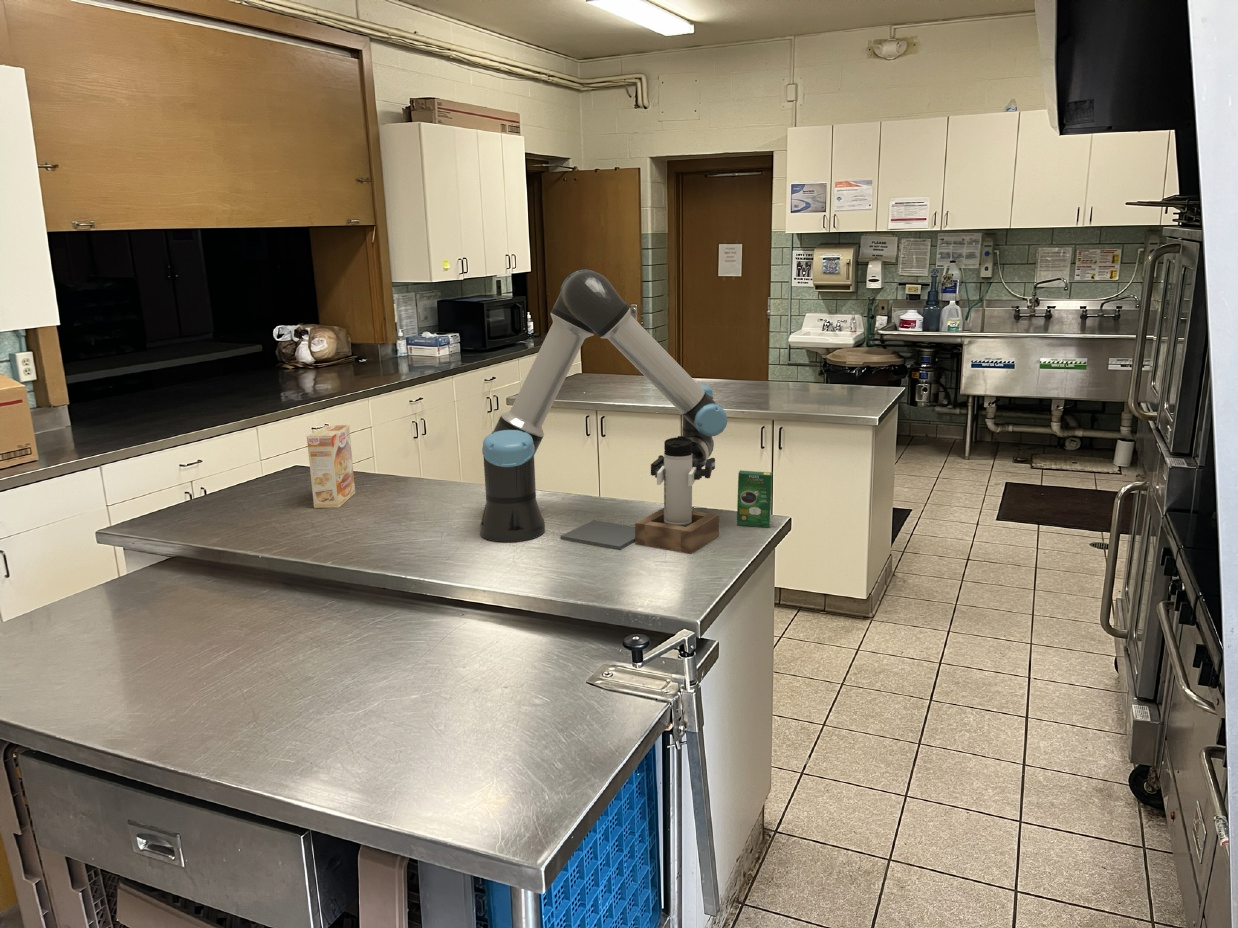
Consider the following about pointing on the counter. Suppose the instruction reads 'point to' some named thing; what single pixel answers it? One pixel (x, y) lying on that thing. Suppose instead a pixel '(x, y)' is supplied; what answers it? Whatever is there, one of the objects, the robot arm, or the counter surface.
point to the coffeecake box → (331, 466)
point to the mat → (602, 534)
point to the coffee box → (754, 498)
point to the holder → (677, 532)
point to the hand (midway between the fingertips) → (674, 479)
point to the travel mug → (677, 481)
